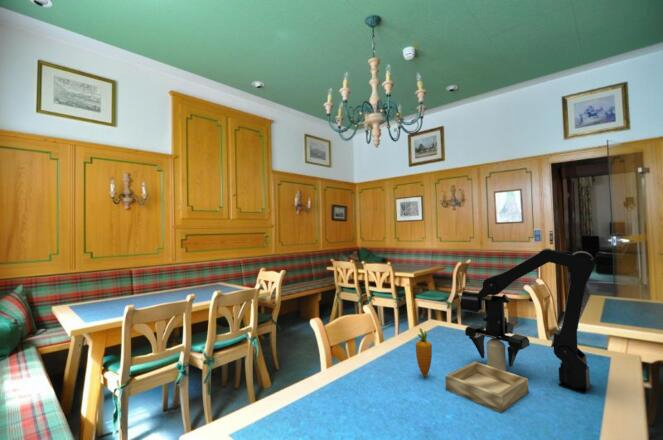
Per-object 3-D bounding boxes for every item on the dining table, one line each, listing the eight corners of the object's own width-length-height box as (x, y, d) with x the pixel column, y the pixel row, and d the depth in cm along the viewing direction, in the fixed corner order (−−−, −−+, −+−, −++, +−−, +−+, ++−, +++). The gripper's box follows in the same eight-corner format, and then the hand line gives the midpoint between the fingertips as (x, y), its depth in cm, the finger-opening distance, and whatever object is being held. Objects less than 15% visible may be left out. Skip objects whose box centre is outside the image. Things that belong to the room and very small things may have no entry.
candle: (509, 373, 106) (508, 342, 106) (492, 373, 106) (491, 342, 106) (501, 366, 111) (499, 336, 112) (484, 366, 112) (483, 336, 112)
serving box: (528, 392, 94) (528, 378, 94) (501, 413, 84) (500, 397, 84) (475, 373, 106) (474, 361, 106) (445, 389, 97) (445, 375, 97)
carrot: (433, 381, 102) (431, 332, 103) (417, 380, 103) (415, 331, 104) (432, 374, 107) (430, 327, 107) (416, 373, 108) (414, 326, 108)
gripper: (535, 315, 107) (538, 364, 106) (480, 305, 122) (481, 348, 121) (520, 322, 100) (522, 374, 100) (463, 311, 115) (465, 356, 114)
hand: (496, 362), depth 109 cm, fingers open, 9 cm apart
